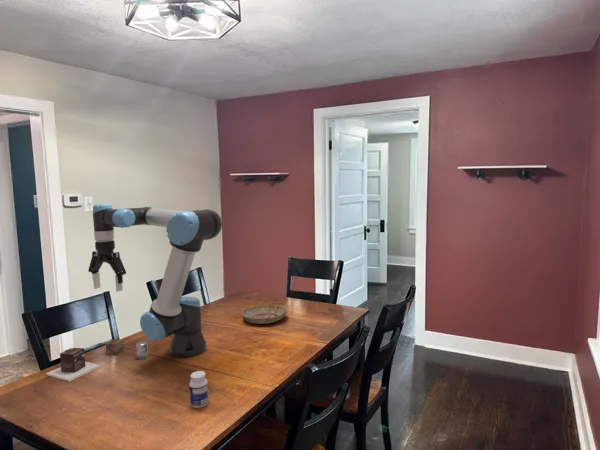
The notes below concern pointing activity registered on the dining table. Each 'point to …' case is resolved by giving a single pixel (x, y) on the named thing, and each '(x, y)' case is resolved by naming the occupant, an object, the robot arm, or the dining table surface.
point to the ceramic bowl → (263, 314)
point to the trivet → (70, 376)
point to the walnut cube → (114, 347)
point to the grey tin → (142, 350)
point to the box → (72, 360)
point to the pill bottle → (198, 389)
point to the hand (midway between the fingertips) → (108, 289)
